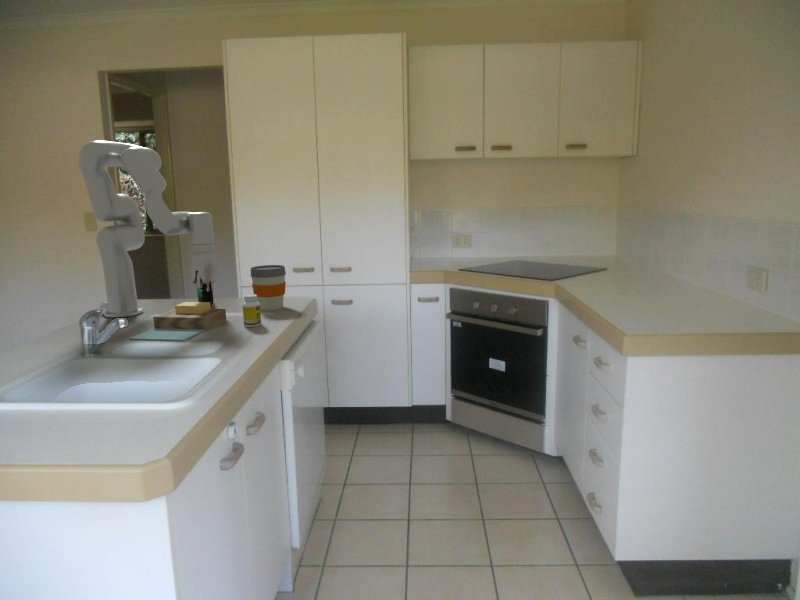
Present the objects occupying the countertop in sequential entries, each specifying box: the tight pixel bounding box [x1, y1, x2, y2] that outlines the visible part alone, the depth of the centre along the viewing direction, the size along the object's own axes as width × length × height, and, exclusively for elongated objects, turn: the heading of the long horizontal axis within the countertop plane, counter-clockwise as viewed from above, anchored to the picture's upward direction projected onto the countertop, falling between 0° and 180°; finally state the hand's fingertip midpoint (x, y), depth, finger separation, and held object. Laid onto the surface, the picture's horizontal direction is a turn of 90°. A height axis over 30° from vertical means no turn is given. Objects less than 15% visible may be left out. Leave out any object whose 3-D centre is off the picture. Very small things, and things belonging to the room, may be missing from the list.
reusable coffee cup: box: [250, 264, 287, 311], centre depth 205 cm, size 13×12×15 cm
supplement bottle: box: [242, 293, 262, 328], centre depth 180 cm, size 5×5×10 cm
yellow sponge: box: [174, 301, 212, 314], centre depth 185 cm, size 9×6×2 cm, turn 80°
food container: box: [193, 283, 214, 306], centre depth 217 cm, size 12×6×10 cm, turn 23°
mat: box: [128, 327, 207, 342], centre depth 171 cm, size 18×12×1 cm, turn 80°
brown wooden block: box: [152, 308, 227, 331], centre depth 183 cm, size 18×13×4 cm
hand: (208, 302), depth 194 cm, fingers closed
